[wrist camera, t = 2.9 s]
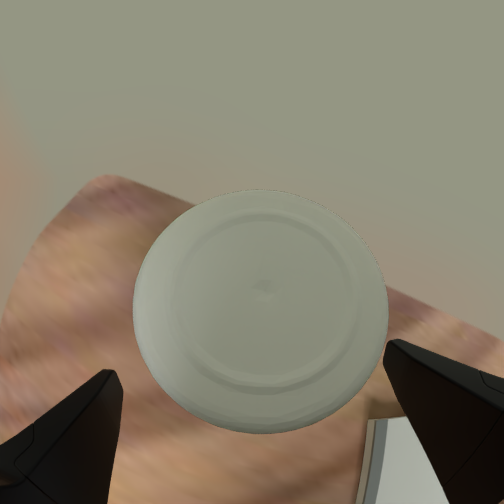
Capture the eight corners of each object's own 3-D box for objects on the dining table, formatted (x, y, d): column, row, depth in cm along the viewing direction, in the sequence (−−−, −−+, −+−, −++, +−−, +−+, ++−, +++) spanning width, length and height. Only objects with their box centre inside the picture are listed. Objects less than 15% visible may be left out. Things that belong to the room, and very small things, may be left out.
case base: (445, 545, 8) (462, 552, 6) (333, 579, 8) (343, 594, 6) (475, 402, 14) (496, 399, 12) (367, 419, 15) (385, 421, 12)
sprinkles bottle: (298, 359, 17) (427, 261, 5) (255, 419, 15) (305, 490, 3) (238, 318, 18) (237, 148, 6) (193, 375, 16) (75, 311, 4)
